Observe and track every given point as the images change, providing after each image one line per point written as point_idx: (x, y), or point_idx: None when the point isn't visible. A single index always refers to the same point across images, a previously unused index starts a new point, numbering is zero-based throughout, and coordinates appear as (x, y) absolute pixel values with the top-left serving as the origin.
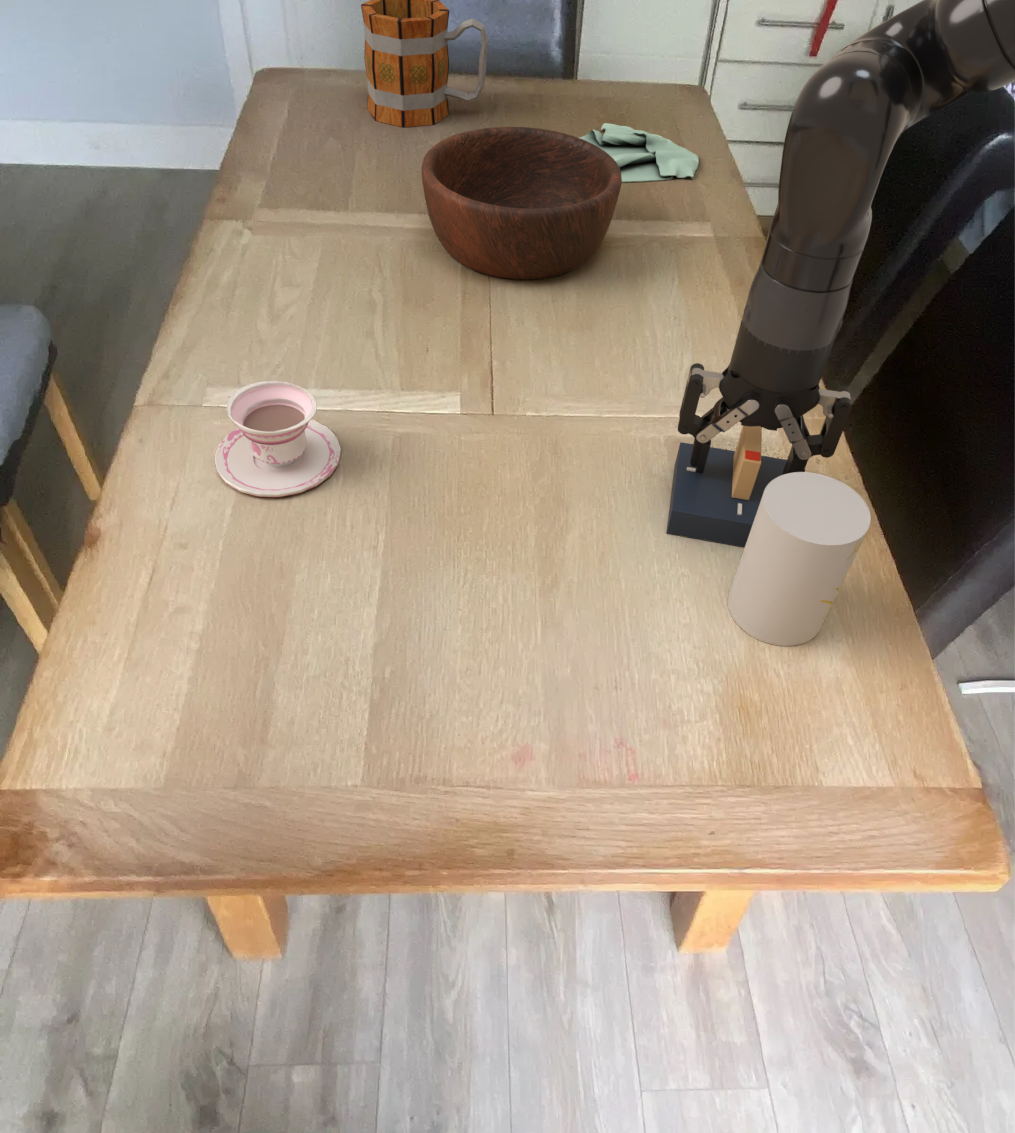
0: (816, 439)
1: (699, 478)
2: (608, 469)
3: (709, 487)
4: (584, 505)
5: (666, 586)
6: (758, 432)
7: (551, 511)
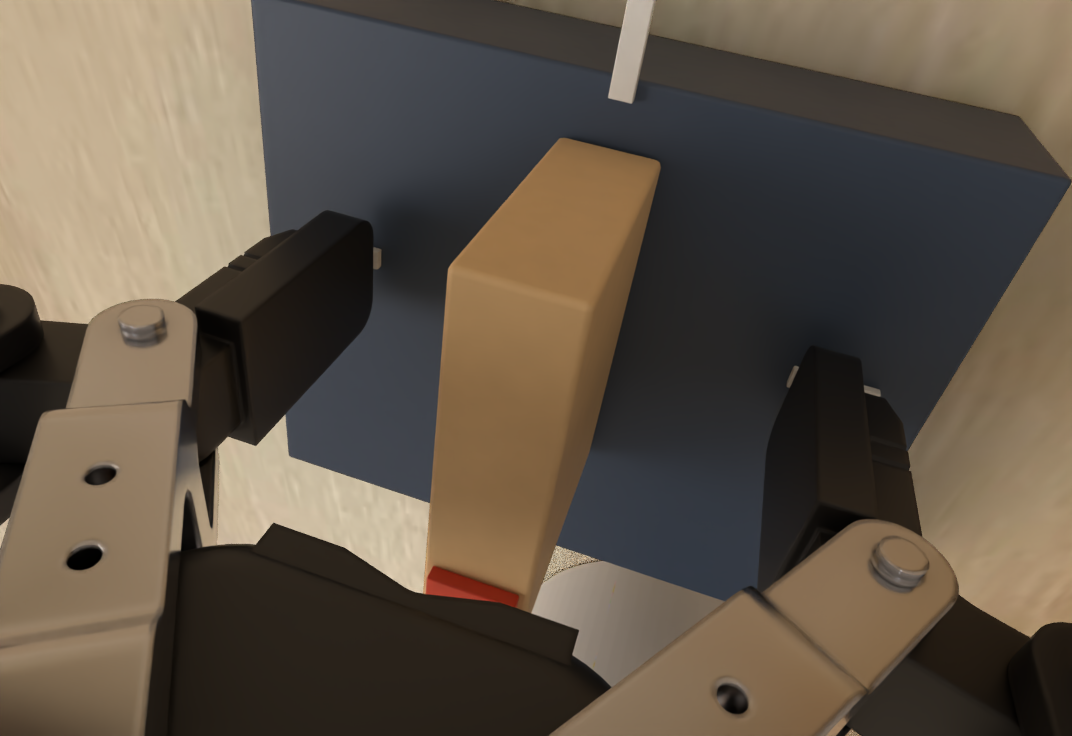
0: (940, 730)
1: (375, 300)
2: (79, 24)
3: (420, 358)
4: (79, 243)
5: (369, 548)
6: (542, 419)
7: (5, 266)
